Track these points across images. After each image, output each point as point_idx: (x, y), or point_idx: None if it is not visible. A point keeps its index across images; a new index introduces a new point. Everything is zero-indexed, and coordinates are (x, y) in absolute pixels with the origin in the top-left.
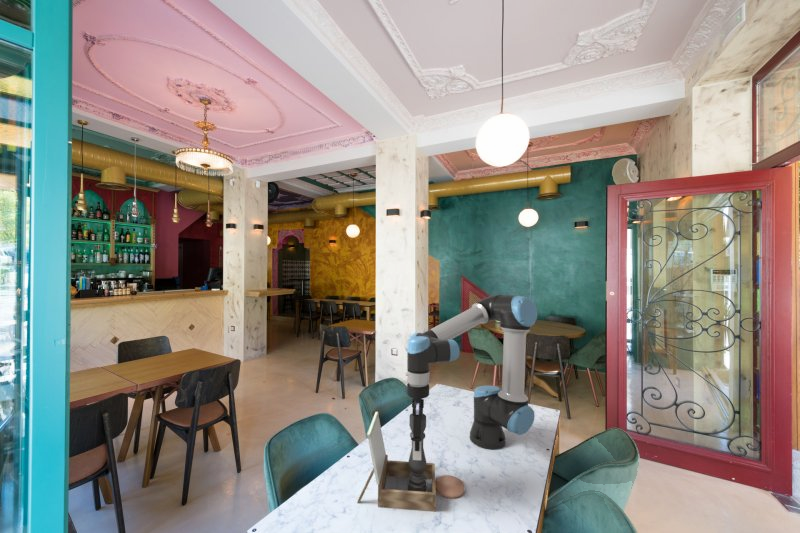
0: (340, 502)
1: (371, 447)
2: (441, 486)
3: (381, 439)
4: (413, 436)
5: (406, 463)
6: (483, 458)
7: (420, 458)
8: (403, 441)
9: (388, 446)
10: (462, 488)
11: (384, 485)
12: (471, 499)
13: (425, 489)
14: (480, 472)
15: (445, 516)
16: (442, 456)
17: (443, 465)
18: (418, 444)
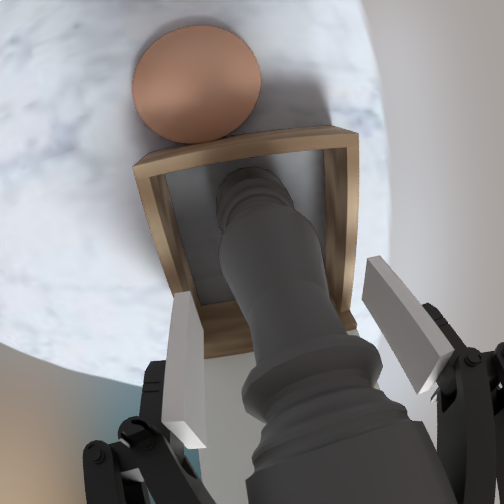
0: None
1: None
2: (217, 113)
3: (224, 425)
4: (497, 397)
5: (180, 282)
6: (3, 25)
7: (385, 265)
8: (25, 301)
9: (69, 332)
10: (207, 31)
11: None
12: (242, 5)
13: (264, 173)
14: (74, 2)
15: (346, 94)
16: (22, 159)
17: (65, 138)
18: (454, 338)
